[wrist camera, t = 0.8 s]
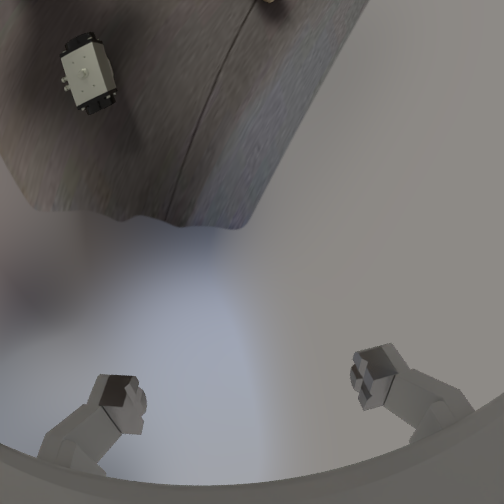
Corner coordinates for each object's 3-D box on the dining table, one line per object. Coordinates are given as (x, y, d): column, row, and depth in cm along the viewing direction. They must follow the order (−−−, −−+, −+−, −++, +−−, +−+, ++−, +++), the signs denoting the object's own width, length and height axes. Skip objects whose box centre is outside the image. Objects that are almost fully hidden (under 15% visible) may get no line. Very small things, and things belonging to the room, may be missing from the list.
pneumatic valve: (106, 36, 30) (86, 28, 21) (125, 96, 38) (110, 106, 29) (76, 50, 30) (48, 49, 21) (95, 109, 37) (73, 124, 28)
